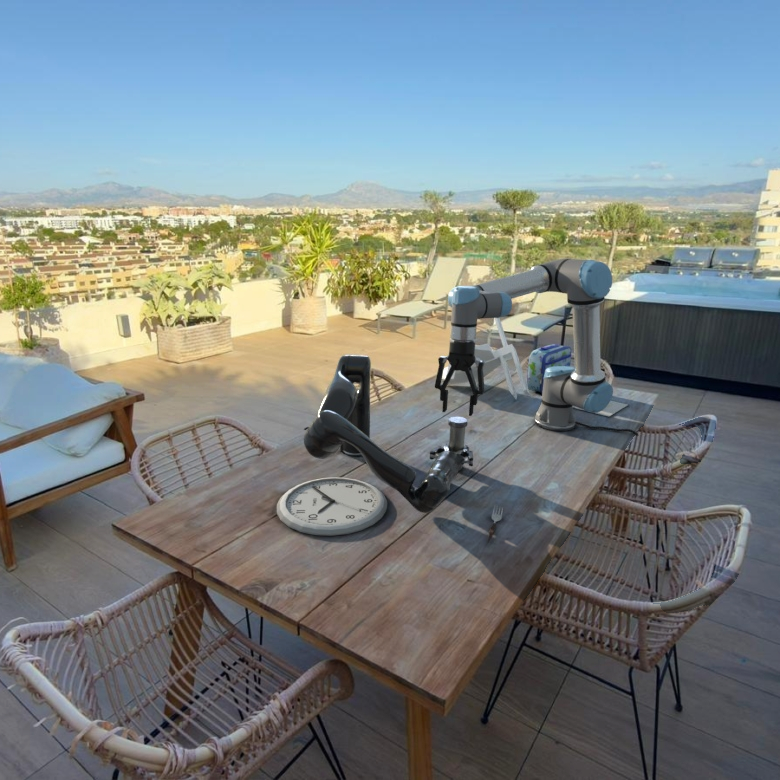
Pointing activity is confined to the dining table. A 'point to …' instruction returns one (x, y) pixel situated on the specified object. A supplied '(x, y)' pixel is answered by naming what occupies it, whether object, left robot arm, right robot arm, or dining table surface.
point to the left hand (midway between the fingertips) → (458, 446)
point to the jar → (456, 440)
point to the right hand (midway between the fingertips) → (457, 412)
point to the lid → (457, 422)
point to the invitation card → (610, 408)
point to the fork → (494, 518)
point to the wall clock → (331, 506)
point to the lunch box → (545, 363)
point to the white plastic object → (492, 363)
